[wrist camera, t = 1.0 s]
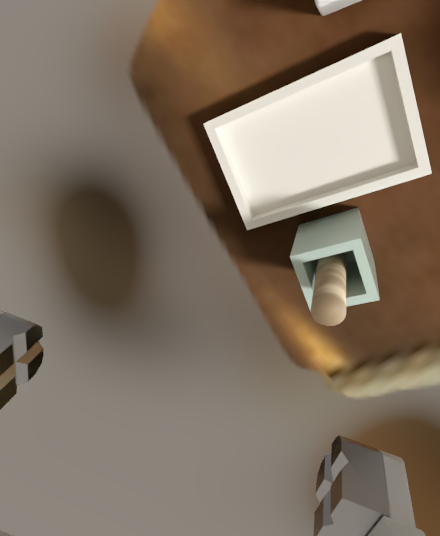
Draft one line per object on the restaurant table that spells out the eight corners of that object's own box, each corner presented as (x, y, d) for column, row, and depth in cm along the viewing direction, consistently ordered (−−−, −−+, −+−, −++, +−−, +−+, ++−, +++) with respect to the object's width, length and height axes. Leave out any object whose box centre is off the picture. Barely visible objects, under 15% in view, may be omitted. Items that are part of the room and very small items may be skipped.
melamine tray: (397, 34, 36) (400, 32, 34) (427, 167, 40) (431, 173, 38) (209, 120, 44) (203, 123, 42) (251, 222, 48) (247, 230, 46)
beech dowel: (341, 232, 45) (340, 293, 33) (349, 254, 46) (350, 322, 34) (316, 238, 46) (306, 301, 34) (323, 260, 47) (316, 328, 35)
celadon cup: (358, 207, 44) (360, 238, 36) (374, 260, 46) (379, 299, 38) (298, 224, 47) (289, 256, 39) (316, 273, 49) (311, 313, 41)
